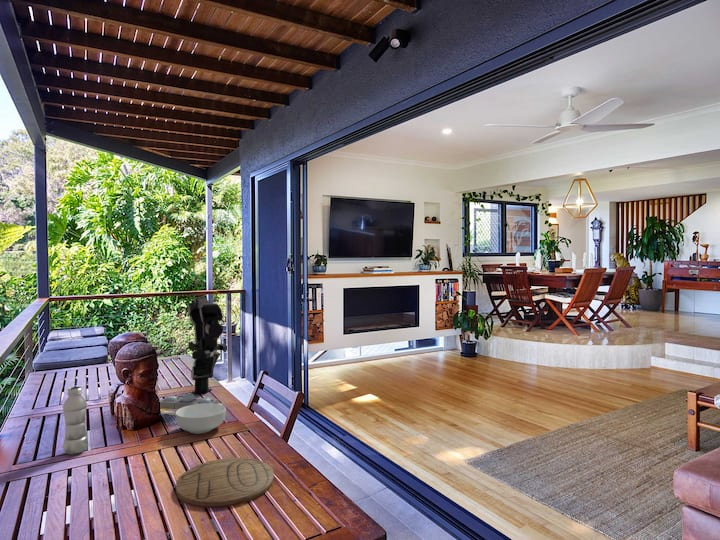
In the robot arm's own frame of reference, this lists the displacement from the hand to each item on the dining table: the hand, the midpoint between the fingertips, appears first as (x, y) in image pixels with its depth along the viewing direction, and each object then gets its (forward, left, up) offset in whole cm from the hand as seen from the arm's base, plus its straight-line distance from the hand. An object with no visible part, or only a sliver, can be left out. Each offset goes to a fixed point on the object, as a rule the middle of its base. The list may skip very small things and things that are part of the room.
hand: (210, 371), depth 194 cm
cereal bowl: (+29, +12, -13) cm, 34 cm away
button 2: (+9, -5, -10) cm, 15 cm away
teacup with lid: (0, -30, -13) cm, 33 cm away
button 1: (+9, -12, -12) cm, 19 cm away
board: (+10, -5, -13) cm, 17 cm away
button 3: (+9, +2, -12) cm, 15 cm away
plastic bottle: (+54, -16, -13) cm, 58 cm away
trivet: (+64, +39, -14) cm, 76 cm away
